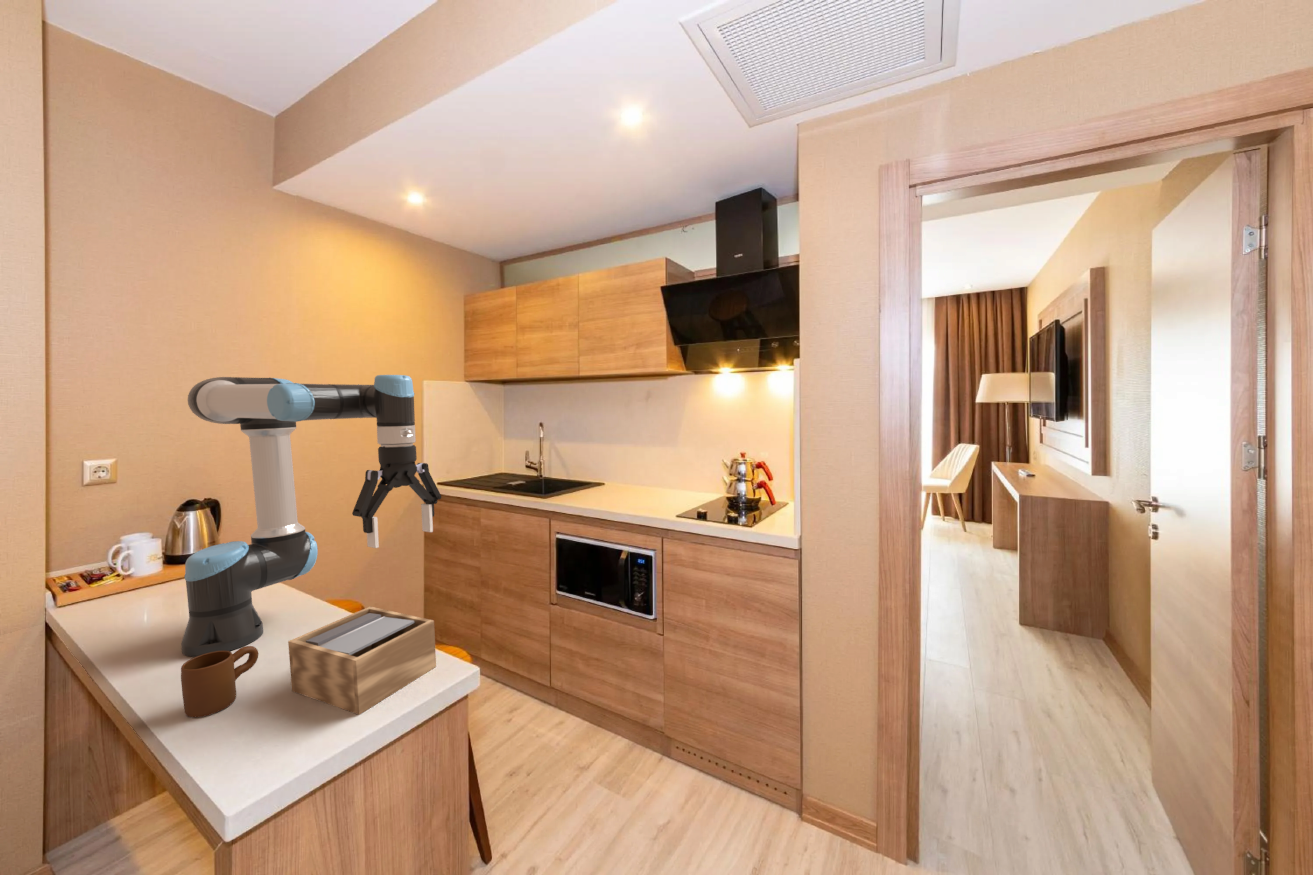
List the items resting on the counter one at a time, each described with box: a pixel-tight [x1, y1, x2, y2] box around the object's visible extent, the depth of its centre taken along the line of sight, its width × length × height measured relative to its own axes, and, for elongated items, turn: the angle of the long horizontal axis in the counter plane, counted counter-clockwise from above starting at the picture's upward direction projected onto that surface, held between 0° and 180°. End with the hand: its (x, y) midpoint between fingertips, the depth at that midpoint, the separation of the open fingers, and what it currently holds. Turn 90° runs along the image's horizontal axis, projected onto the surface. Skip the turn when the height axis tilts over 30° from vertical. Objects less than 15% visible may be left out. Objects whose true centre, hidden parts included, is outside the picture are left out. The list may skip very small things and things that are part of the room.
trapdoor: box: [306, 613, 415, 655], centre depth 105 cm, size 14×15×4 cm
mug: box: [180, 645, 260, 718], centre depth 98 cm, size 12×8×9 cm, turn 153°
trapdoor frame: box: [287, 606, 437, 716], centre depth 105 cm, size 20×18×10 cm
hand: (401, 538), depth 113 cm, fingers open, 13 cm apart
